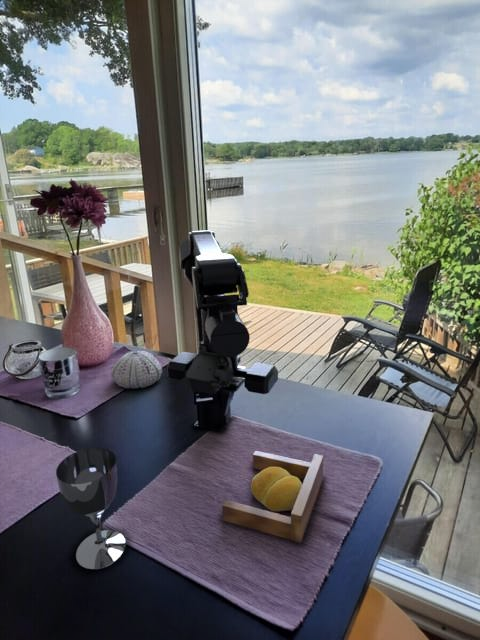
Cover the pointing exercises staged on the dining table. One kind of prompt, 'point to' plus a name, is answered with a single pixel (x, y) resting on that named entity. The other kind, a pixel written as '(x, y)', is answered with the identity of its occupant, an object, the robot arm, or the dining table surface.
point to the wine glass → (92, 502)
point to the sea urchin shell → (136, 370)
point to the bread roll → (276, 489)
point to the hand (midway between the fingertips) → (223, 414)
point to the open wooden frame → (303, 506)
